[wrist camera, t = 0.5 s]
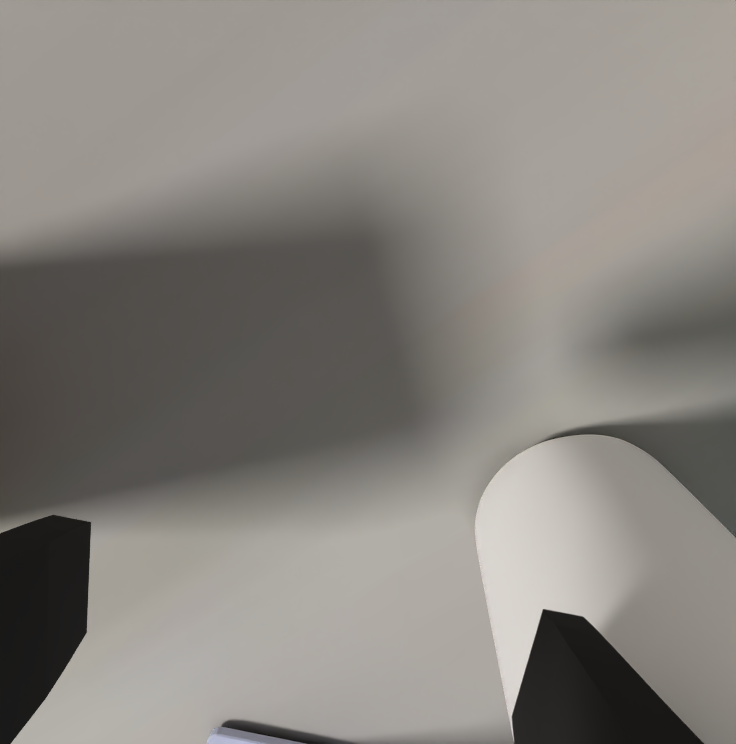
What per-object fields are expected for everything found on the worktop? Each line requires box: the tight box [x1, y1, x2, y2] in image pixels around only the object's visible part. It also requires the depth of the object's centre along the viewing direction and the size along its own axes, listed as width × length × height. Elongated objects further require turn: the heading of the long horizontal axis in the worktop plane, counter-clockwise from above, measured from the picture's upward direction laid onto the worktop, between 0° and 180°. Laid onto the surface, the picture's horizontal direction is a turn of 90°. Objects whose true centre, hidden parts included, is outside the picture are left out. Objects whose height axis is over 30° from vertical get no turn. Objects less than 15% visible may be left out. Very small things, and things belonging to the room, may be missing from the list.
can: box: [475, 435, 736, 744], centre depth 12 cm, size 6×6×12 cm
